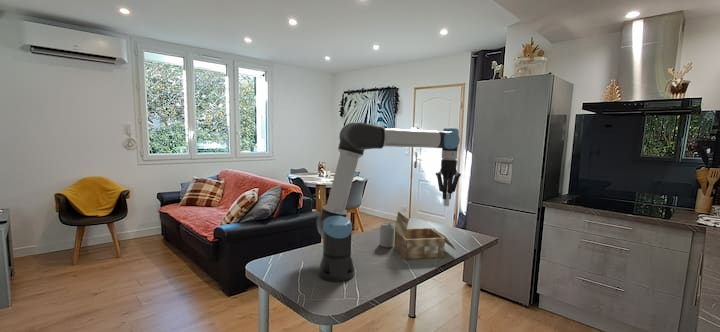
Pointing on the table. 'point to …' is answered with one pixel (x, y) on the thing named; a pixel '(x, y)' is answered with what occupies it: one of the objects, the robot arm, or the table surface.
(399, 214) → the flap left
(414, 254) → the carton
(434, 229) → the flap right
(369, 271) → the table surface
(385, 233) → the can
